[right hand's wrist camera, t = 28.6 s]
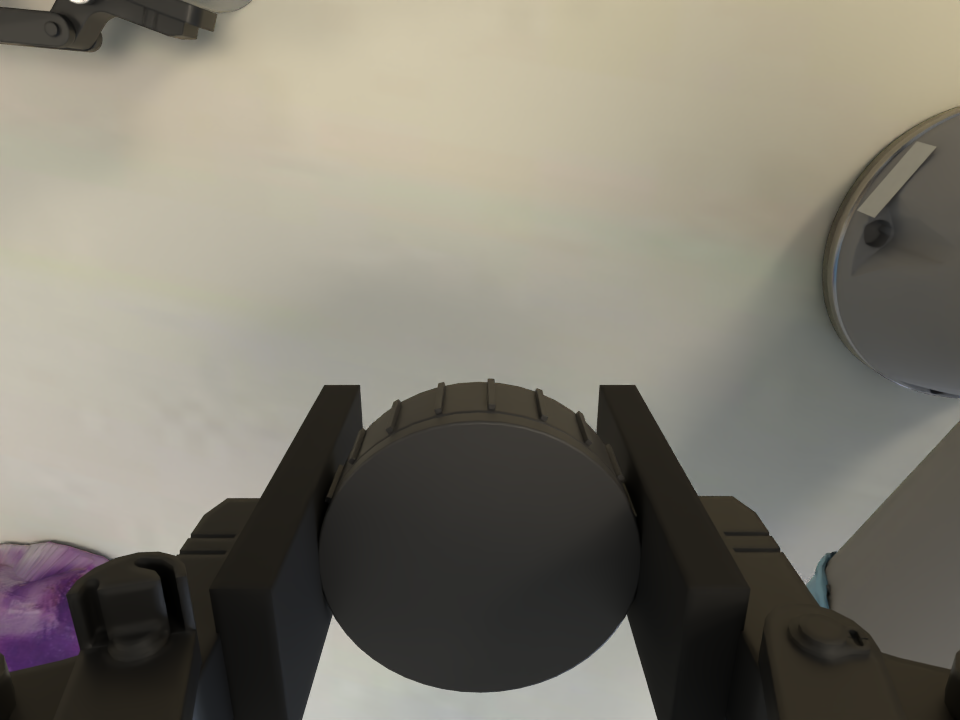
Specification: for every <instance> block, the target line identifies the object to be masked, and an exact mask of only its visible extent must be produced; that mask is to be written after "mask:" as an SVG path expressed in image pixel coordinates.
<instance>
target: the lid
mask: <svg viewBox="0 0 960 720" xmlns="http://www.w3.org/2000/svg"><path fill="white" fill-rule="evenodd" d="M623 479H624V477H623V474H622V472H621V469H620V467H619V464H618V462H617V459H616V457H615V454H614V452H613V449H612V447H611V445H610V444H607V445H606V446H605V445H604V443H603V442H602V440H601V439H600V437H599V436H598V435H597V434H596V433H595V432H594V430H593V429H592V428H591V427H590V426H589V425H588V424H587V423H586V421H585V418H584V416H583V414H582V413H581V412H580V411H578V412H577V413H576V414H575V413H574V412H573V411H572V410H570V409H568V408H567V407H565V406H564V405H562V404H560V403H559V402H557V401H555V400H553V399H551V398H549V397H547V396H544V395H543V391H542V390H540V389H538V388H537V389H536V391H531V390H528V389H525V388H522V387H518V386H513V385H507V384H501V383H494V379H488V382H470V383H457V384H452V385H447V386H445V383H444V382H442V383H438V387H437V388H434V389H431V390H428V391H425V392H422V393H419V394H417V395H415V396H413V397H411V398H409V399H407V400H404V401H402V402H400V401H399V399H398V400H396V401H395V402H393V406H392V408H391V409H390V410H388V411H387V412H385V413H384V414H383V415H382V416H381V417H379V418H378V419H377V420H376V421H375V422H374V423H372V424H371V426H370V427H369V428H368V429H367V430H365V429H363V428H362V429H361V430H360V431H359V433H358V435H357V438H356V441H355V443H354V446H353V449H352V450H351V452H350V454H349V456H348V458H347V460H346V462H345V464H344V466H342V465H339V466H338V469H337V471H336V474H335V476H334V479H333V481H332V484H331V486H330V489H329V491H328V494H327V496H326V499H325V502H327V503H329V505H328V508H327V511H326V513H325V516H324V519H323V523H322V526H321V530H320V534H319V542H318V554H319V565H320V575H321V584H322V590H323V592H324V595H325V598H326V601H327V604H328V606H329V607H330V609H331V611H332V613H333V615H334V617H335V619H336V620H337V622H338V623H339V625H340V626H341V627H342V629H343V630H344V632H345V633H346V634H347V635H348V636H349V637H350V639H351V640H352V641H353V642H354V643H355V644H356V645H357V646H358V647H359V648H360V649H361V650H363V651H364V652H365V653H366V654H367V655H369V656H370V657H371V658H372V659H374V660H375V661H377V662H378V663H380V664H381V665H383V666H384V667H386V668H388V669H389V670H391V671H393V672H395V673H397V674H399V675H401V676H403V677H405V678H408V679H411V680H414V681H416V682H419V683H422V684H425V685H429V686H433V687H437V688H441V689H446V690H453V691H460V692H480V693H482V692H500V691H506V690H513V689H519V688H523V687H527V686H531V685H534V684H538V683H541V682H543V681H546V680H549V679H551V678H554V677H556V676H558V675H560V674H562V673H564V672H566V671H568V670H570V669H572V668H574V667H575V666H577V665H578V664H580V663H581V662H583V661H584V660H586V659H587V658H589V657H590V656H591V655H592V654H593V653H594V652H596V651H597V650H598V649H599V648H600V647H601V646H603V645H604V643H605V642H606V641H607V640H608V639H609V638H610V637H611V636H612V635H613V634H614V632H615V631H616V630H617V628H618V627H619V625H620V624H621V622H622V621H623V620H624V618H625V616H626V614H627V612H628V610H629V608H630V606H631V604H632V602H633V600H634V597H635V594H636V591H637V588H638V580H639V571H640V560H641V549H642V548H641V538H640V531H639V527H638V524H637V514H636V512H635V509H634V507H633V504H632V501H631V499H630V496H629V494H628V491H627V489H626V486H625V483H622V481H621V480H623Z"/></svg>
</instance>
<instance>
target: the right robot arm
mask: <svg viewBox="0 0 960 720" xmlns="http://www.w3.org/2000/svg"><path fill="white" fill-rule="evenodd" d="M822 281H823V293H824V300H825V304H826V308H827V312H828V315H829V318H830V320H831V322H832V325H833V327H834V329H835V331H836V332H837V334H838V336H839V338H840V339H841V340H842V342H843V343H844V345H845V346H846V347H847V348H848V349H849V350H850V351H851V352H852V354H853V355H854V356H856V357H857V358H858V359H859V360H860V361H861V362H863V363H864V364H866V365H867V366H869V367H870V368H871V369H873V370H875V371H876V372H878V373H879V374H881V375H882V376H884V377H885V378H887V379H889V380H891V381H893V382H895V383H897V384H899V385H902V386H904V387H907V388H910V389H913V390H916V391H919V392H922V393H926V394H930V395H935V396H941V397H949V398H960V107H957V108H954V109H951V110H948V111H945V112H943V113H941V114H938V115H936V116H934V117H932V118H930V119H928V120H926V121H924V122H922V123H920V124H918V125H917V126H915V127H914V128H912V129H911V130H909V131H907V132H906V133H904V134H903V135H902V136H900V137H899V138H898V139H896V140H895V141H894V142H893V143H891V144H890V145H889V146H888V147H887V148H886V149H884V150H883V151H882V152H881V153H880V154H879V155H878V156H877V157H876V158H875V159H874V160H873V161H872V162H871V163H870V164H869V165H868V166H867V168H866V169H865V170H864V171H863V173H862V174H861V175H860V176H859V178H858V179H857V180H856V182H855V183H854V185H853V186H852V187H851V189H850V190H849V192H848V193H847V195H846V197H845V199H844V201H843V202H842V204H841V206H840V208H839V210H838V212H837V214H836V217H835V219H834V221H833V224H832V227H831V230H830V233H829V235H828V239H827V244H826V248H825V253H824V260H823V272H822ZM362 428H363V425H362V410H361V394H360V385H324V387H323V389H322V390H321V392H320V394H319V396H318V397H317V399H316V401H315V403H314V404H313V406H312V408H311V410H310V411H309V413H308V415H307V417H306V419H305V420H304V422H303V424H302V426H301V427H300V429H299V431H298V433H297V434H296V436H295V438H294V440H293V441H292V443H291V445H290V447H289V448H288V450H287V452H286V454H285V456H284V457H283V459H282V461H281V463H280V464H279V466H278V468H277V470H276V471H275V473H274V475H273V477H272V478H271V480H270V482H269V484H268V486H267V487H266V489H265V491H264V493H263V494H262V496H261V498H227V499H226V500H224V501H223V502H222V503H220V504H219V505H217V506H216V507H215V508H213V509H212V510H210V511H209V512H208V513H206V514H205V515H204V516H203V517H202V519H201V520H200V522H199V523H198V525H197V526H196V528H195V529H194V531H193V532H192V533H191V538H188V539H187V541H186V542H185V544H184V545H183V547H182V548H181V550H180V554H179V555H176V556H174V555H170V554H166V553H162V552H138V553H134V554H130V555H126V556H122V557H118V558H115V559H113V560H110V561H108V562H106V563H104V564H101V565H99V566H97V567H95V568H93V569H92V570H90V571H89V572H88V573H86V574H85V575H83V576H82V577H81V578H79V579H78V580H77V581H76V582H75V583H74V585H73V586H72V587H71V588H70V590H69V591H68V592H67V594H66V597H67V601H68V605H69V609H70V613H71V617H72V621H73V625H74V628H75V632H76V636H77V640H78V644H79V648H80V652H79V655H77V656H73V657H70V658H67V659H63V660H60V661H56V662H51V663H47V664H43V665H38V666H34V667H30V668H25V669H21V670H17V671H12V672H9V670H8V667H7V663H6V660H5V657H4V655H3V654H1V653H0V720H302V718H303V714H304V711H305V707H306V704H307V700H308V697H309V694H310V690H311V687H312V683H313V680H314V677H315V673H316V670H317V666H318V663H319V659H320V656H321V653H322V649H323V646H324V642H325V639H326V635H327V632H328V629H329V625H330V622H331V618H332V615H333V613H332V611H331V609H330V607H329V606H328V604H327V601H326V598H325V595H324V592H323V590H322V584H321V575H320V565H319V554H318V542H319V534H320V530H321V526H322V523H323V519H324V516H325V513H326V511H327V508H328V505H329V503H327V502H325V499H326V496H327V494H328V491H329V489H330V486H331V484H332V481H333V479H334V476H335V474H336V471H337V469H338V466H339V465H342V466H344V464H345V462H346V460H347V458H348V456H349V454H350V452H351V450H352V449H353V446H354V443H355V441H356V438H357V435H358V433H359V431H360V430H361V429H362ZM597 435H598V436H599V437H600V439H601V440H602V442H603V443H604V445H605V446H606V445H607V444H610V445H611V447H612V449H613V452H614V454H615V457H616V459H617V462H618V464H619V467H620V469H621V472H622V474H623V477H624V479H623V480H621V481H622V483H625V486H626V489H627V491H628V494H629V496H630V499H631V501H632V504H633V507H634V509H635V512H636V514H637V524H638V527H639V531H640V538H641V548H642V549H641V560H640V571H639V580H638V588H637V591H636V594H635V597H634V600H633V602H632V604H631V606H630V608H629V610H628V612H627V616H628V620H629V623H630V627H631V630H632V633H633V637H634V640H635V644H636V647H637V651H638V654H639V657H640V661H641V664H642V668H643V671H644V674H645V678H646V681H647V685H648V688H649V692H650V695H651V698H652V702H653V705H654V709H655V712H656V716H657V719H658V720H960V421H959V422H958V423H957V424H956V425H955V426H954V427H953V429H952V430H951V431H950V432H949V433H948V434H947V435H946V436H945V437H944V438H943V439H942V440H941V441H940V443H939V444H938V445H937V446H936V447H935V448H934V449H933V450H932V451H931V452H930V453H929V454H928V455H927V456H926V458H925V459H924V460H923V461H922V462H921V463H920V464H919V465H918V466H917V467H916V468H915V469H914V470H913V471H912V473H911V474H910V475H909V476H908V477H907V478H906V479H905V480H904V481H903V482H902V483H901V484H900V485H899V487H898V488H897V489H896V490H895V491H894V492H893V493H892V494H891V495H890V496H889V497H888V498H887V499H886V500H885V502H884V503H883V504H882V505H881V506H880V507H879V508H878V509H877V510H876V511H875V512H874V513H873V514H872V516H871V517H870V518H869V519H868V520H867V521H866V522H865V523H864V524H863V525H862V526H861V527H860V528H859V529H858V531H857V532H856V533H855V534H854V535H853V536H852V537H851V538H850V539H849V540H848V541H847V542H846V543H845V544H844V546H843V547H842V548H841V549H840V550H839V551H838V552H832V553H827V554H826V555H825V556H824V557H823V558H822V559H821V560H820V562H819V563H818V565H817V568H816V571H815V575H814V576H813V577H812V579H811V580H810V581H809V582H808V583H807V585H805V584H804V582H803V581H802V579H801V578H800V576H799V575H798V574H797V572H796V571H795V569H794V568H793V566H792V565H791V563H790V562H789V560H788V559H787V558H786V556H785V555H784V553H783V552H780V547H779V546H778V544H777V543H776V542H775V540H774V539H773V537H772V536H769V531H768V530H767V528H766V527H765V526H764V524H763V523H762V521H761V520H760V518H759V517H758V515H757V514H756V513H755V512H754V511H752V510H751V509H750V508H748V507H747V506H745V505H744V504H743V503H741V502H740V501H738V500H737V499H736V498H734V497H733V496H698V495H697V493H696V492H695V490H694V488H693V486H692V485H691V483H690V481H689V479H688V477H687V476H686V474H685V472H684V470H683V469H682V467H681V465H680V463H679V462H678V460H677V458H676V456H675V455H674V453H673V451H672V449H671V447H670V446H669V444H668V442H667V440H666V439H665V437H664V435H663V433H662V432H661V430H660V428H659V426H658V425H657V423H656V421H655V419H654V417H653V416H652V414H651V412H650V410H649V409H648V407H647V405H646V403H645V402H644V400H643V398H642V396H641V395H640V393H639V391H638V389H637V388H636V386H635V385H600V388H599V403H598V418H597Z"/></svg>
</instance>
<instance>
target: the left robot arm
mask: <svg viewBox="0 0 960 720" xmlns="http://www.w3.org/2000/svg"><path fill="white" fill-rule="evenodd" d="M114 17H119V18H122V19H125V20H127V21H130V22H133V23H135V24H138V25H141V26H143V27H146V28H149V29H151V30H154V31H157V32H159V33H162V34H164V35H167V36H171V37H175V38H179V39H183V40H186V39H197V34H198V29H199V28H203V29H206V30H209V31H213V32H214V27H215V22H216V17H217V14H216V13H213V12H210V11H208V10H205V9H203V8H200V7H197V6H195V5H192V4H190V3H187V2H184V1H182V0H56V1H55V3H54V5H53V7H52V9H51V10H50V12H48V11H38V10H27V9H16V8H5V7H0V44H7V45H18V46H29V47H40V48H51V49H61V50H72V51H83V52H94V51H97V50H98V49H99V48H100V46H101V44H102V34H101V31H102V29H103V27H104V26H105V24H106V23H107V21H108V20H110V19H111V18H114Z"/></svg>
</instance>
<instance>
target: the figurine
mask: <svg viewBox="0 0 960 720" xmlns="http://www.w3.org/2000/svg"><path fill="white" fill-rule="evenodd" d="M108 561H110V560H108V559H107V558H105V557H103V556H100V555H96V554H93V553H90V552H87V551H84V550H81V549H78V548H74V547H71V546H68V545H63V544H57V543H52V542H51V541H50V542H45V543H37V544H31V545H30V546H29V545H18V544H0V653H1V654H3V655H4V657H5V660H6V663H7V667H8V670H9V672H12V671H17V670H21V669H25V668H30V667H34V666H38V665H43V664H47V663H51V662H56V661H60V660H63V659H67V658H70V657H73V656H77V655H79V652H80V648H79V644H78V640H77V636H76V632H75V628H74V625H73V621H72V617H71V613H70V609H69V605H68V601H67V597H66V594H67V592H68V591H69V590H70V588H71V587H72V586H73V585H74V583H75V582H76V581H77V580H78V579H79V578H81V577H82V576H83V575H85V574H86V573H88V572H89V571H90V570H92V569H93V568H95V567H97V566H99V565H101V564H104V563H106V562H108Z"/></svg>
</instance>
